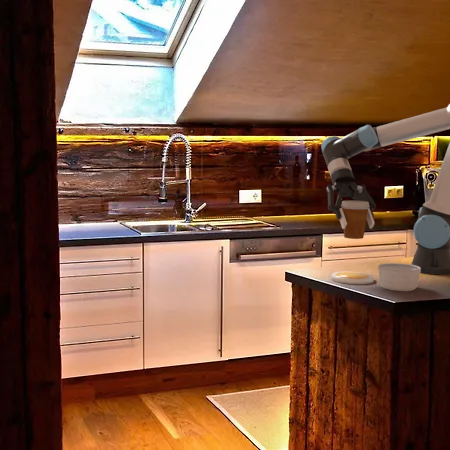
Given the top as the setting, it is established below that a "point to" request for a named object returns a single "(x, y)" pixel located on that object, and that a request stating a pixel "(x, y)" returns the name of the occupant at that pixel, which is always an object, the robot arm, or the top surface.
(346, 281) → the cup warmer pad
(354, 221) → the disposable coffee cup
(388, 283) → the ramekin
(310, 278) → the top surface
